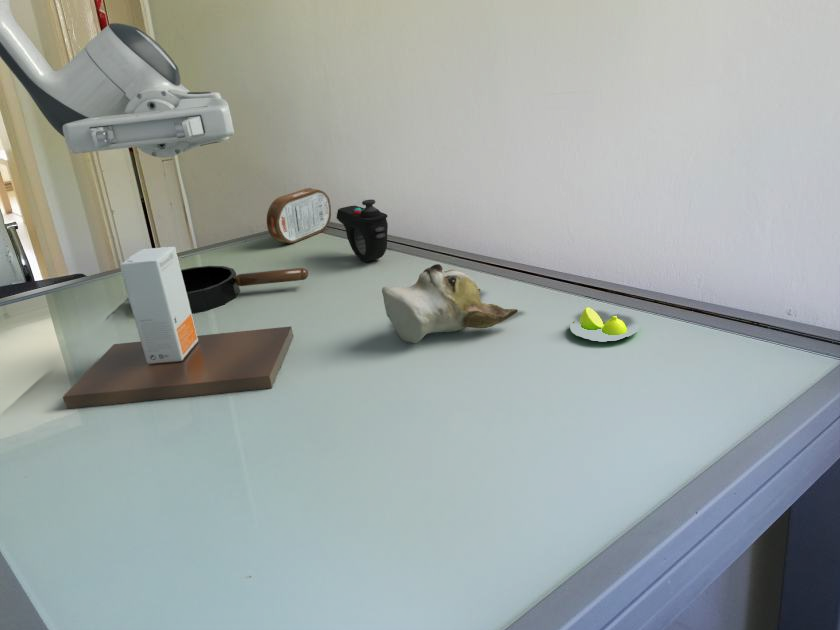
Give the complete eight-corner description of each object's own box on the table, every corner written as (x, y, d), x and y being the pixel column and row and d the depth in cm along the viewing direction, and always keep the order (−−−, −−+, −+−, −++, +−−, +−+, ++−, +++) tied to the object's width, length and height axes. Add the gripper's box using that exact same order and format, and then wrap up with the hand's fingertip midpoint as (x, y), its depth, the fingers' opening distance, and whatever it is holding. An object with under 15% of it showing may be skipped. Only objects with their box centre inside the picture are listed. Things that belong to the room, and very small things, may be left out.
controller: (373, 269, 113) (364, 206, 109) (339, 254, 122) (329, 195, 118) (397, 263, 115) (389, 200, 111) (362, 248, 125) (353, 190, 120)
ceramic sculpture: (364, 263, 86) (476, 244, 92) (370, 331, 89) (477, 309, 95) (399, 287, 77) (520, 264, 83) (404, 361, 80) (520, 335, 86)
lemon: (563, 344, 81) (562, 321, 80) (574, 317, 88) (574, 295, 87) (637, 347, 78) (637, 323, 77) (642, 319, 85) (643, 297, 84)
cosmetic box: (183, 362, 82) (156, 260, 77) (146, 365, 82) (117, 264, 78) (200, 340, 88) (176, 245, 83) (165, 343, 88) (139, 248, 83)
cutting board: (66, 409, 77) (62, 396, 77) (117, 354, 90) (113, 343, 90) (272, 388, 77) (269, 375, 77) (293, 337, 90) (291, 326, 90)
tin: (324, 226, 142) (317, 183, 138) (337, 227, 140) (330, 183, 137) (270, 248, 130) (260, 201, 127) (282, 249, 129) (273, 202, 125)
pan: (133, 320, 101) (126, 299, 100) (163, 288, 114) (158, 270, 112) (304, 302, 102) (300, 281, 100) (316, 273, 114) (313, 254, 112)
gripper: (73, 107, 96) (39, 117, 84) (231, 90, 99) (221, 97, 87) (87, 155, 99) (56, 172, 86) (241, 137, 102) (232, 151, 89)
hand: (140, 135), depth 86 cm, fingers open, 8 cm apart
